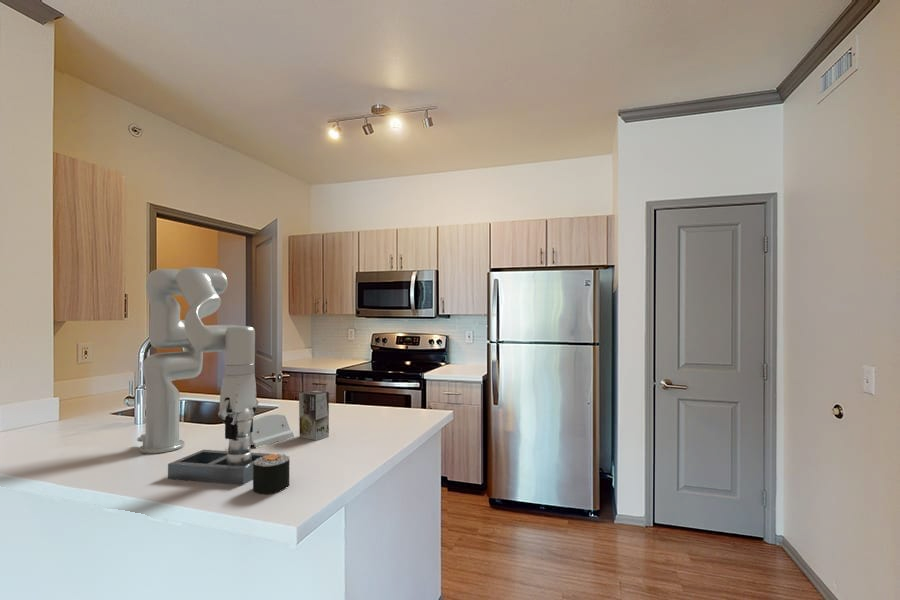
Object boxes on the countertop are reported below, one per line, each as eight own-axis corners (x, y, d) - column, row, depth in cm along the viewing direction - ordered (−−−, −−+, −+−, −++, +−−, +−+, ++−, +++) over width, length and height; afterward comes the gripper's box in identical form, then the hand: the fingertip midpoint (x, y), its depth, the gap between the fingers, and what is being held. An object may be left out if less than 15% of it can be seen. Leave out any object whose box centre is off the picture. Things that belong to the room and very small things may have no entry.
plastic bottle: (246, 463, 129) (247, 394, 130) (255, 469, 125) (256, 397, 125) (222, 469, 125) (223, 397, 126) (231, 475, 120) (232, 400, 121)
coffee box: (329, 436, 163) (329, 391, 163) (315, 440, 157) (315, 394, 158) (312, 433, 168) (312, 389, 168) (298, 437, 162) (298, 392, 163)
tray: (167, 478, 122) (168, 463, 122) (203, 463, 134) (203, 449, 134) (243, 484, 117) (243, 469, 117) (272, 467, 130) (272, 453, 130)
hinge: (255, 448, 148) (248, 419, 150) (246, 451, 150) (239, 422, 152) (294, 436, 163) (288, 409, 165) (286, 439, 165) (280, 412, 167)
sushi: (246, 491, 113) (246, 459, 113) (272, 480, 120) (272, 450, 120) (270, 496, 109) (271, 463, 110) (295, 484, 117) (295, 453, 117)
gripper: (247, 366, 135) (247, 427, 134) (205, 374, 118) (204, 443, 117) (270, 367, 133) (269, 428, 133) (230, 375, 116) (230, 445, 116)
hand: (239, 434), depth 125 cm, fingers closed on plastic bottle, 6 cm apart
